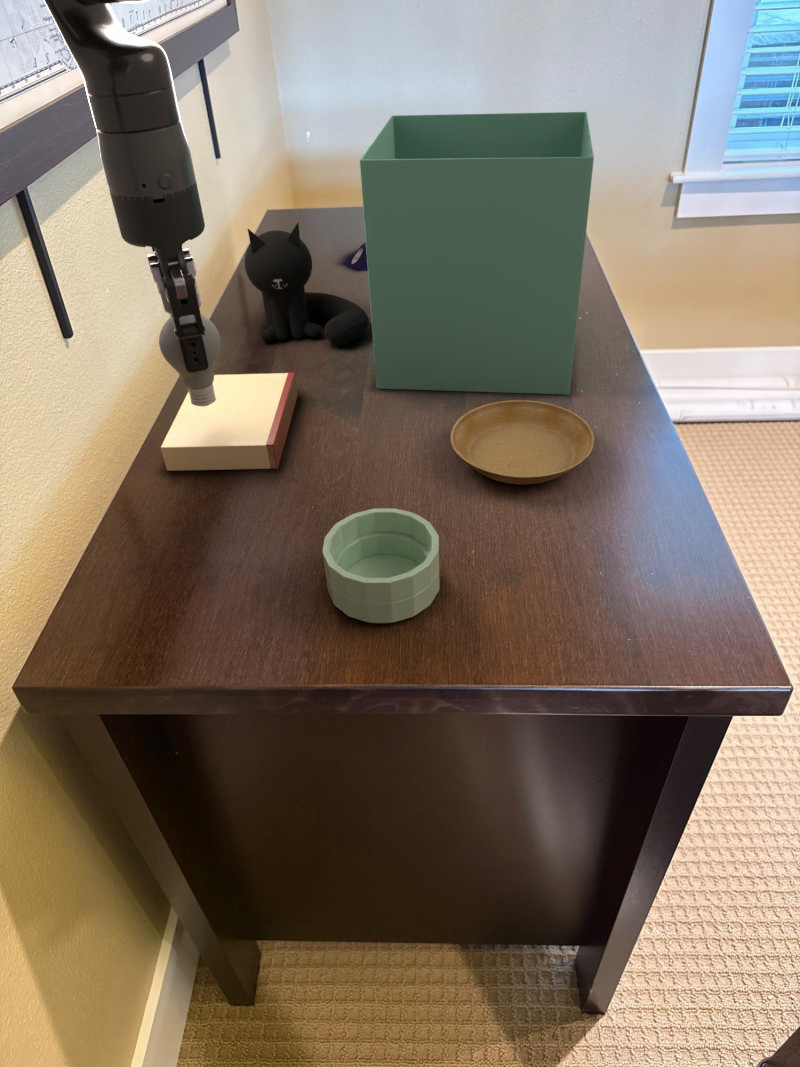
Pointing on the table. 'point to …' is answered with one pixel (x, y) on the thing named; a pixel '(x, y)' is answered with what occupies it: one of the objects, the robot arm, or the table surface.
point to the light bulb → (171, 350)
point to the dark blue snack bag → (357, 259)
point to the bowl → (382, 565)
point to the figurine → (297, 291)
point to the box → (476, 249)
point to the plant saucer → (522, 441)
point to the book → (234, 425)
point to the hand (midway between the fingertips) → (192, 355)
